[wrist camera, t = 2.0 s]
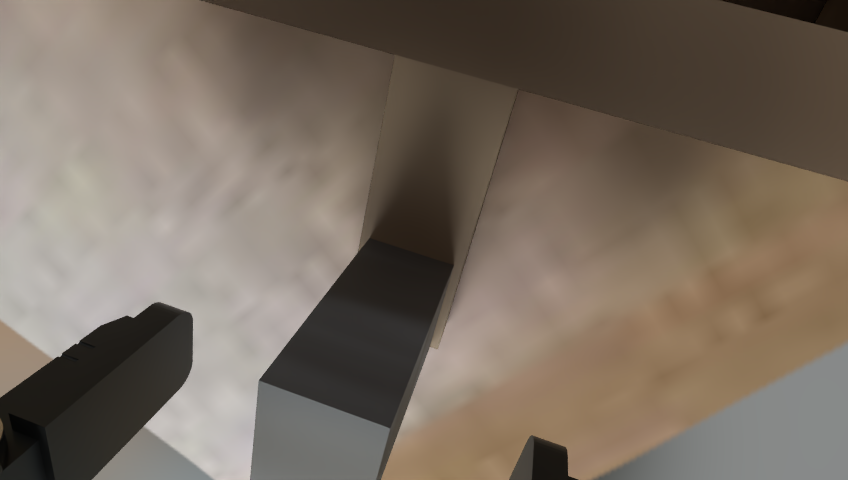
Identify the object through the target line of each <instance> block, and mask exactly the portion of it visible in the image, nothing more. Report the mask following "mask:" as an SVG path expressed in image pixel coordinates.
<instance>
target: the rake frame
mask: <svg viewBox="0 0 848 480" xmlns="http://www.w3.org/2000/svg"><path fill="white" fill-rule="evenodd" d="M201 1H205V2H209V3H212V4H216V5H219V6H223V7H226V8H230V9H234V10H237V11H241V12H244V13H248V14H251V15H255V16H259V17H262V18H266V19H269V20H273V21H276V22H280V23H284V24H287V25H291V26H294V27H298V28H301V29H305V30H309V31H312V32H316V33H319V34H323V35H326V36H330V37H334V38H337V39H341V40H344V41H348V42H351V43H355V44H359V45H362V46H366V47H369V48H373V49H376V50H380V51H384V52H387V53H391V54H394V55H395V56H394V61H393V67H392V72H391V78H390V83H389V88H388V94H387V99H386V105H385V110H384V115H383V121H382V126H381V131H380V137H379V142H378V148H377V153H376V158H375V164H374V169H373V174H372V180H371V185H370V191H369V196H368V201H367V207H366V212H365V217H364V223H363V228H362V234H361V239H360V244H359V250H358V253H357V255H356V256H355V257H354V259H353V260H352V261H351V262H350V264H349V265H348V266H347V268H346V269H345V270H344V271H343V273H342V274H341V275H340V277H339V278H338V279H337V280H336V282H335V283H334V284H333V286H332V287H331V288H330V289H329V291H328V292H327V293H326V295H325V296H324V297H323V298H322V300H321V301H320V302H319V304H318V305H317V306H316V308H315V309H314V310H313V311H312V313H311V314H310V315H309V317H308V318H307V319H306V320H305V322H304V323H303V324H302V326H301V327H300V328H299V329H298V331H297V332H296V333H295V335H294V336H293V337H292V338H291V340H290V341H289V342H288V344H287V345H286V346H285V347H284V349H283V350H282V351H281V353H280V354H279V355H278V356H277V358H276V359H275V360H274V362H273V363H272V364H271V365H270V367H269V368H268V369H267V371H266V372H265V373H264V374H263V376H262V377H261V378H260V380H259V384H258V396H257V407H256V419H255V430H254V442H253V453H252V465H251V476H250V480H381V477H382V475H383V472H384V469H385V467H386V464H387V461H388V458H389V456H390V453H391V450H392V448H393V445H394V442H395V439H396V437H397V434H398V431H399V429H400V426H401V423H402V420H403V418H404V415H405V412H406V410H407V407H408V404H409V401H410V399H411V396H412V393H413V391H414V388H415V385H416V382H417V380H418V377H419V374H420V372H421V369H422V366H423V363H424V361H425V358H426V355H427V353H428V350H429V347H432V348H435V349H438V346H439V343H440V341H441V338H442V335H443V332H444V329H445V326H446V322H447V319H448V316H449V313H450V309H451V306H452V303H453V300H454V296H455V293H456V290H457V287H458V283H459V280H460V277H461V274H462V271H463V267H464V264H465V261H466V258H467V254H468V251H469V248H470V245H471V241H472V238H473V235H474V232H475V229H476V225H477V222H478V219H479V216H480V212H481V209H482V206H483V203H484V199H485V196H486V193H487V190H488V187H489V183H490V180H491V177H492V174H493V170H494V167H495V164H496V161H497V157H498V154H499V151H500V148H501V145H502V141H503V138H504V135H505V132H506V128H507V125H508V122H509V119H510V115H511V112H512V109H513V106H514V102H515V99H516V96H517V93H518V90H523V91H527V92H530V93H534V94H537V95H541V96H544V97H548V98H552V99H555V100H559V101H562V102H566V103H569V104H573V105H577V106H580V107H584V108H587V109H591V110H594V111H598V112H602V113H605V114H609V115H612V116H616V117H619V118H623V119H627V120H630V121H634V122H637V123H641V124H644V125H648V126H652V127H655V128H659V129H662V130H666V131H669V132H673V133H677V134H680V135H684V136H687V137H691V138H694V139H698V140H702V141H705V142H709V143H712V144H716V145H719V146H723V147H727V148H730V149H734V150H737V151H741V152H744V153H748V154H752V155H755V156H759V157H762V158H766V159H769V160H773V161H777V162H780V163H784V164H787V165H791V166H794V167H798V168H802V169H805V170H809V171H812V172H816V173H819V174H823V175H827V176H830V177H834V178H837V179H841V180H844V181H848V0H828V1H827V2H826V4H825V6H824V8H823V10H822V11H821V13H820V15H819V17H818V19H817V20H816V22H815V24H813V23H809V22H805V21H801V20H797V19H793V18H789V17H785V16H781V15H777V14H773V13H769V12H765V11H761V10H757V9H753V8H749V7H745V6H741V5H737V4H733V3H729V2H725V1H721V0H201Z"/></svg>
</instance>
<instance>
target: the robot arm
mask: <svg viewBox="0 0 848 480" xmlns="http://www.w3.org/2000/svg"><path fill="white" fill-rule="evenodd" d="M192 356H193V318H192V315H191V314H190V313H189V312H186V311H183V310H180V309H177V308H175V307H172V306H169V305H166V304H163V303H161V302H157V303H154V304H152V305H151V306H149V307H148V308H147V309H145V310H144V311H143V312H141V313H140V314H139V315H137V316H136V317H135V318H132V317H129V316H125V317H122V318H120V319H117V320H114V321H112V322H109V323H107V324H104V325H101V326H100V327H98V328H97V329H96V330H94V331H93V332H91V333H90V334H89V335H87V336H86V337H84V338H83V339H82V340H80V342H79V344H75V345H73V346H72V347H70V348H69V349H68V350H66V351H65V352H63V353H62V356H61V357H56V358H55V359H54V360H52V361H51V362H50V363H48V364H47V365H45V366H44V367H42V368H41V369H40V370H38V371H37V372H35V373H34V374H33V375H31V376H30V377H29V378H27V379H26V380H24V381H23V382H22V383H20V384H19V385H17V386H16V387H15V388H13V389H12V390H10V391H9V392H8V393H6V394H5V395H3V396H2V397H1V398H0V480H92V479H93V478H94V477H95V476H96V475H97V474H98V472H99V471H101V469H102V468H103V467H104V466H105V465H106V464H107V463H108V462H109V461H110V460H111V459H112V458H113V457H114V456H115V455H116V454H117V453H118V452H119V451H120V450H121V449H122V448H123V447H124V446H125V445H126V444H127V443H128V442H129V441H130V440H131V438H132V437H133V436H134V435H135V434H136V433H137V432H138V431H139V430H140V429H141V428H142V427H143V426H144V425H145V424H146V423H147V422H148V421H149V420H150V419H151V418H152V417H153V416H154V415H155V414H156V413H157V412H158V411H159V410H160V409H161V408H162V407H163V406H164V404H165V403H166V402H167V401H168V400H169V399H170V398H171V397H172V396H173V395H174V394H175V393H176V392H177V391H178V390H179V389H180V388H181V387H182V385H183V384H184V382H185V381H186V379H187V377H188V375H189V373H190V370H191V367H192ZM509 480H578V479H575V478H572V477H569V476H568V455H567V449H566V447H563V446H561V445H558V444H555V443H552V442H549V441H547V440H544V439H541V438H538V437H535V436H532V435H531V436H530V437H529V439H528V441H527V443H526V445H525V447H524V449H523V451H522V453H521V456H520V458H519V460H518V462H517V464H516V466H515V468H514V470H513V472H512V475H511V477H510V479H509Z"/></svg>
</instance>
